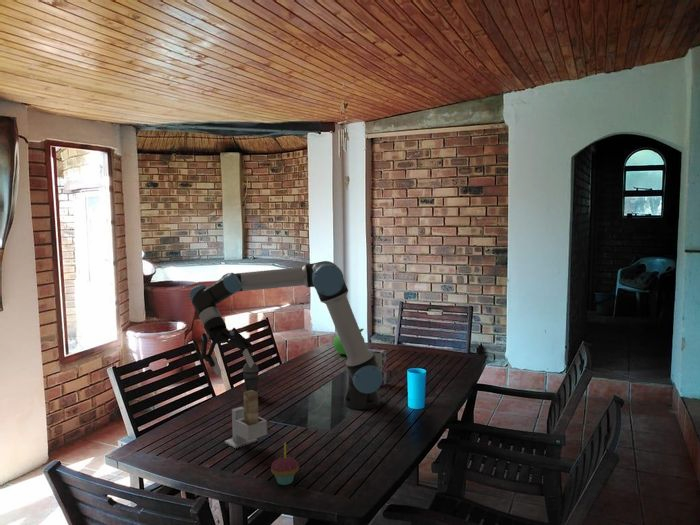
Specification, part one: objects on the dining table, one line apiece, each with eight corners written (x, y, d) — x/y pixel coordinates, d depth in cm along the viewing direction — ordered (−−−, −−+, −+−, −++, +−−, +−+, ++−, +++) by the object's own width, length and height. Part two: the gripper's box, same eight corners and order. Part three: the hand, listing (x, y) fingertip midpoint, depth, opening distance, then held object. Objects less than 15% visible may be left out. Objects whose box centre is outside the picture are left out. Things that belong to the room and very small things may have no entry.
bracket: (224, 442, 188) (223, 410, 187) (246, 435, 194) (245, 403, 193) (247, 456, 178) (246, 421, 177) (269, 447, 184) (268, 414, 183)
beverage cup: (255, 399, 232) (255, 354, 230) (240, 398, 233) (239, 354, 231) (262, 393, 239) (261, 350, 237) (246, 392, 240) (245, 349, 239)
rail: (244, 431, 183) (243, 392, 182) (252, 428, 186) (252, 389, 184) (250, 434, 181) (249, 394, 179) (258, 431, 183) (257, 392, 182)
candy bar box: (386, 383, 253) (386, 349, 251) (383, 386, 248) (383, 352, 247) (364, 380, 257) (364, 347, 255) (361, 383, 252) (361, 350, 251)
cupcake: (272, 475, 165) (271, 437, 164) (299, 473, 166) (298, 436, 164) (270, 489, 156) (269, 450, 155) (299, 487, 157) (298, 448, 156)
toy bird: (331, 357, 299) (330, 331, 297) (336, 349, 315) (336, 325, 314) (362, 358, 296) (362, 333, 294) (366, 351, 312) (366, 326, 311)
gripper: (237, 322, 209) (260, 367, 199) (178, 333, 191) (200, 383, 182) (245, 311, 204) (268, 356, 195) (184, 320, 187) (208, 371, 178)
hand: (236, 369), depth 188 cm, fingers open, 13 cm apart
